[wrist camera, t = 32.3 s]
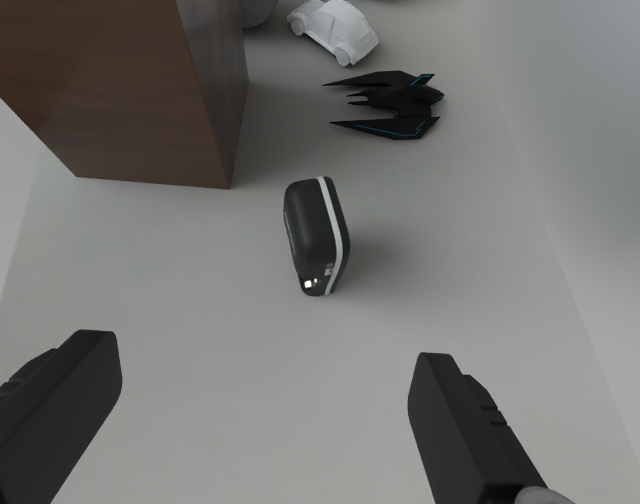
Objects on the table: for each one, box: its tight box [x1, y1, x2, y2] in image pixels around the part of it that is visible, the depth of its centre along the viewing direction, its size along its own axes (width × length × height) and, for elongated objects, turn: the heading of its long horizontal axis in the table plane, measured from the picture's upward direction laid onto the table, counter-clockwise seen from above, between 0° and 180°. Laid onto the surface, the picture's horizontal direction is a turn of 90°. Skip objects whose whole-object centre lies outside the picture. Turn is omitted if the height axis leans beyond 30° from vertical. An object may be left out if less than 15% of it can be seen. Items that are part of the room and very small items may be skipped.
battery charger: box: [284, 176, 350, 296], centre depth 30 cm, size 7×4×11 cm, turn 14°
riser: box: [0, 0, 249, 189], centre depth 30 cm, size 16×16×22 cm
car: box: [287, 0, 379, 66], centre depth 46 cm, size 12×6×5 cm, turn 52°
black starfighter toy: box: [321, 70, 444, 140], centre depth 43 cm, size 11×15×3 cm
